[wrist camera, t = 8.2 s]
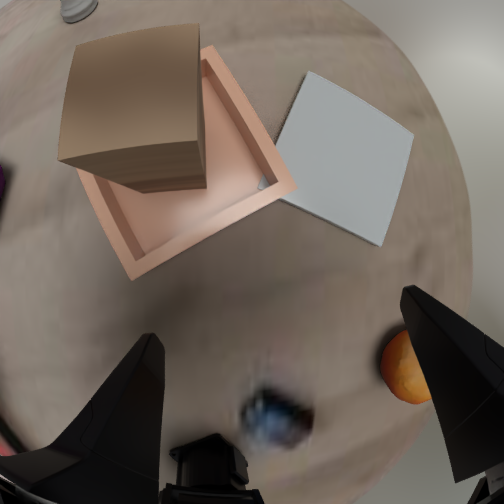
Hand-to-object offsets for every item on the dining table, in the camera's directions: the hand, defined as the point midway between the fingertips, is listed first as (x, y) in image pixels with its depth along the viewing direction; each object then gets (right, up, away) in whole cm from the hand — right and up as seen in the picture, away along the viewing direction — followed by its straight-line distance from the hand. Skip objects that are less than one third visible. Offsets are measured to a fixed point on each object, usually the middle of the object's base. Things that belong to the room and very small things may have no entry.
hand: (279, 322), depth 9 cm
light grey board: (+7, +11, +14) cm, 19 cm away
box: (-7, +10, +12) cm, 17 cm away
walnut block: (-7, +9, +11) cm, 16 cm away
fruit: (+15, -9, +17) cm, 24 cm away
